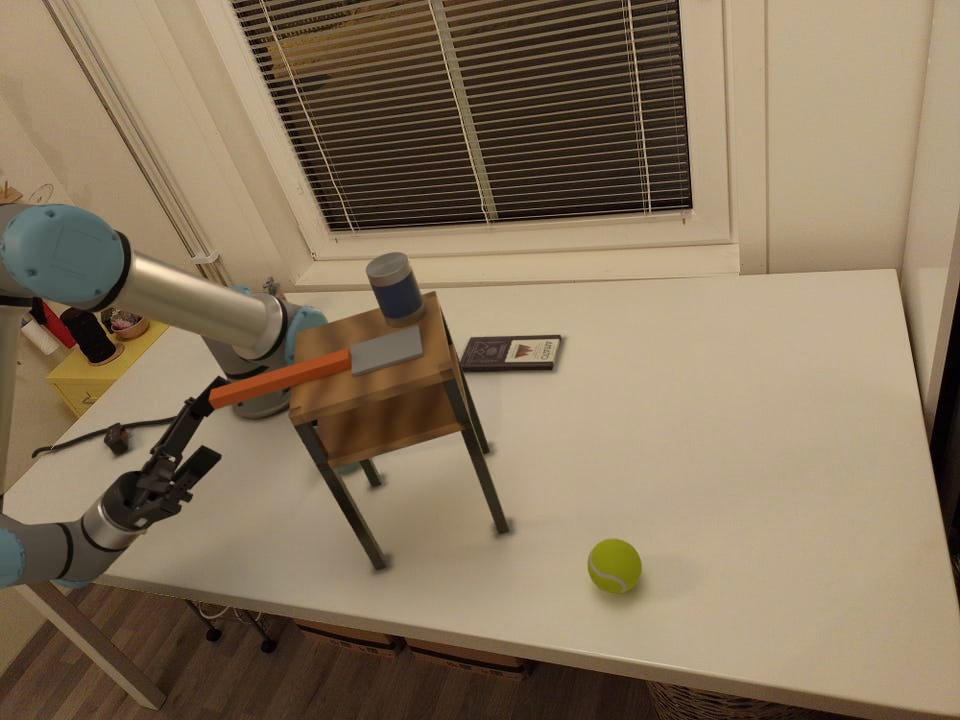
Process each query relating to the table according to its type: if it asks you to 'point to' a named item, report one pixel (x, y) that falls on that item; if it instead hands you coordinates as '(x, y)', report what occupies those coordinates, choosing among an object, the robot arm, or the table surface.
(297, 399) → the side table
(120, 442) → the dark brown lumpy chunk
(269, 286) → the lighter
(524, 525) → the table surface
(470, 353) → the chocolate bar
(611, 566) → the tennis ball
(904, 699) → the table surface
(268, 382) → the spatula
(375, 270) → the tin can
